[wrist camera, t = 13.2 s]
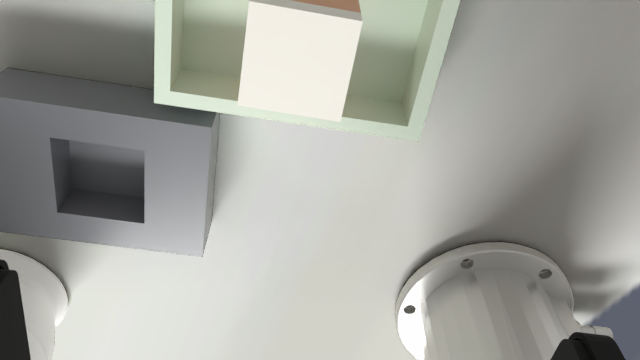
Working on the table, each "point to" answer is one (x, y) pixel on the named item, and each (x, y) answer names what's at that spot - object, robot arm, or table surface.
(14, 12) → the table surface
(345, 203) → the table surface
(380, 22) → the tray
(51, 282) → the jar
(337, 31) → the plug
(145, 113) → the grey block
